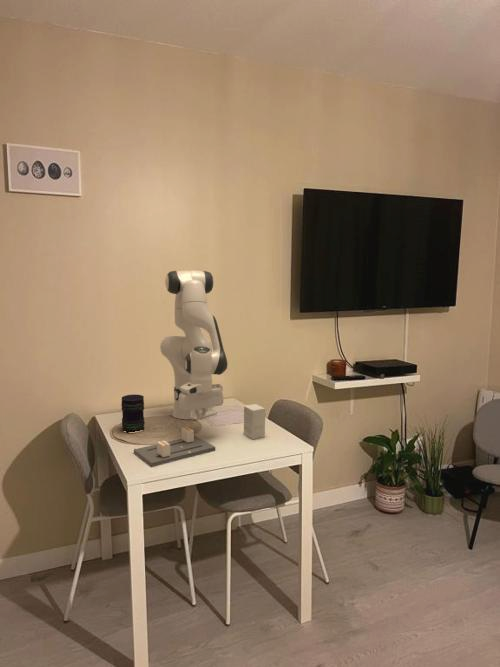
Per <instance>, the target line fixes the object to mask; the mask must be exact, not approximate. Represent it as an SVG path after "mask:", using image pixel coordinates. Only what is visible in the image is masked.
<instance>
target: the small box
mask: <svg viewBox="0 0 500 667" xmlns="http://www.w3.org/2000/svg"><path fill="white" fill-rule="evenodd" d="M265 432H266V408H264V407H263V406H261V405H259V404H256V403H253V404H248V405H247V404H246V405H244V406H243V435H245V436H246V437H248V438H250V439H251V440H257V439H258V440H259V439H263V438H265V437H266V433H265Z"/></svg>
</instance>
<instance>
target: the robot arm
mask: <svg viewBox="0 0 500 667" xmlns="http://www.w3.org/2000/svg"><path fill="white" fill-rule="evenodd" d="M214 283H215V280H214V277H213V275H212V273H211V272H209V271H206V270H193V269H190V270H172V271H169V272H168V273H167V274H166V277H165V281H164V284H165V288H166V289H167V290H166V291H167V292H168V293H170V294H172V295H175V298H174V299H175V300H174V324H175V326H176V327H177V328H178V329H180V330H182V332H183V333H184V335H185V336H182V335H181V336H179V335H171V336H165V337H164V338H163V339H162V341H161V343H160V348H159V349H160V352H161V354H162V355H163V356H164V357H165V358H166V359H167V360H168V361H169V363H170V366H171V367H172V370H173V373H174V374H173V375H174V376H173V377H174V387H173V399H174V402H173V409H172V413H171V416H172V417H173V418H175V419H180V420H193V421H197V420H203V419H206V418H207V417H210V416H213V415H216V414H218V411H217V409H216V408H215V407H220V406H222V405H223V404H224V394H223V385H221V384H220V383H215V384H213V376H212V375H220V376H221V375H222V374H223V373H224V372H226V370H228V359H227V356H226V353H225V349H224V345H223V342H222V337H221V333H220V329H219V324H218V320H217V319H216V317H215V316H214V315H213V314H211V313H210V310H209V307H208V299H207V294H209V293H211V292H212V291H213V288H214V285H215V284H214ZM200 328H201V329H203V330H204V331H206V333H208V334H209V338H210V340H209V338H207V337H206V336H205V335H204V334H203V332H202V331H201V329H200Z"/></svg>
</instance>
